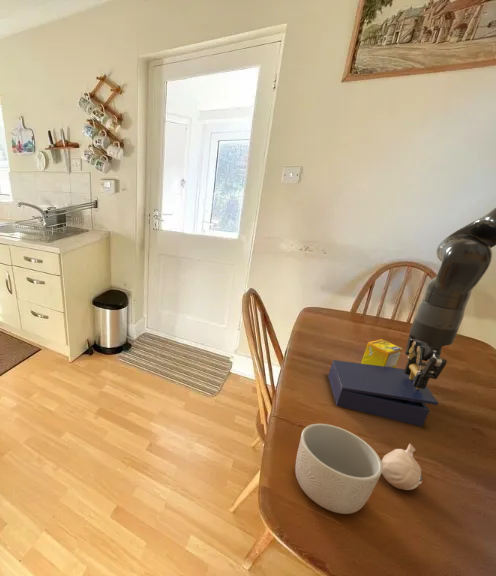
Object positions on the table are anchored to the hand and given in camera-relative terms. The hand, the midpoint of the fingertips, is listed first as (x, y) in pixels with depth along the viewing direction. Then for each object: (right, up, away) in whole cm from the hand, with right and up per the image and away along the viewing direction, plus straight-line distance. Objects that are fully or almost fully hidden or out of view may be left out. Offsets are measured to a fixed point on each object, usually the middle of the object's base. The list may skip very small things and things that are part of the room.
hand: (413, 380), depth 79 cm
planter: (-35, -17, -18) cm, 42 cm away
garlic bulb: (-20, -16, -16) cm, 30 cm away
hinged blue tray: (-6, -7, +6) cm, 11 cm away
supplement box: (+3, -3, +15) cm, 16 cm away
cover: (-6, -1, +3) cm, 7 cm away
